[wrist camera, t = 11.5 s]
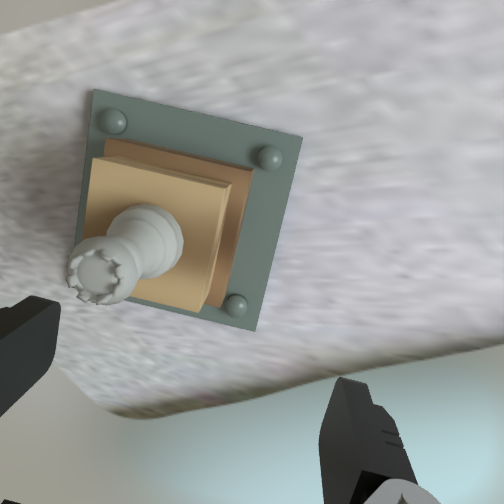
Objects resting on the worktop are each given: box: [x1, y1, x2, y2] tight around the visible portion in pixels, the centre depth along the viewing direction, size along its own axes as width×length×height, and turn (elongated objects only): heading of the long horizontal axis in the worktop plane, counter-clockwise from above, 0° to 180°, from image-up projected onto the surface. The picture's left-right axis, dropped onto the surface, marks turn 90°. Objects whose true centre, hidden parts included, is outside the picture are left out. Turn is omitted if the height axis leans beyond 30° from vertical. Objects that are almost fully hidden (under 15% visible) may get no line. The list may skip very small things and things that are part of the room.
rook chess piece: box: [66, 204, 184, 305], centre depth 23 cm, size 4×4×8 cm
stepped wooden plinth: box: [82, 138, 255, 313], centre depth 31 cm, size 10×10×8 cm
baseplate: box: [72, 89, 303, 332], centre depth 35 cm, size 16×16×2 cm
